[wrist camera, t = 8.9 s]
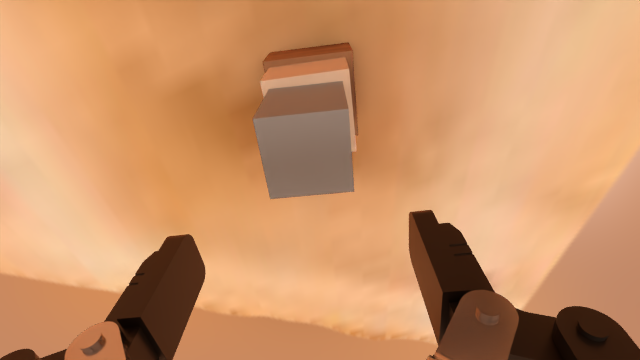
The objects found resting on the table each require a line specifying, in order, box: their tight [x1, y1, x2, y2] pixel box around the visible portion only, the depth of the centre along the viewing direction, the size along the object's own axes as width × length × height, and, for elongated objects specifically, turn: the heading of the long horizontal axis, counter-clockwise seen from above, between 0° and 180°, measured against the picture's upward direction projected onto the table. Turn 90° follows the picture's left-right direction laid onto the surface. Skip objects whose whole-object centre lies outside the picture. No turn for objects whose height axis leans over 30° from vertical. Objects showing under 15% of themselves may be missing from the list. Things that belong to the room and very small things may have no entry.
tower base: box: [263, 43, 358, 135], centre depth 29 cm, size 7×7×4 cm
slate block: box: [253, 81, 354, 199], centre depth 21 cm, size 5×5×6 cm
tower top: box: [260, 57, 357, 152], centre depth 25 cm, size 6×6×4 cm
